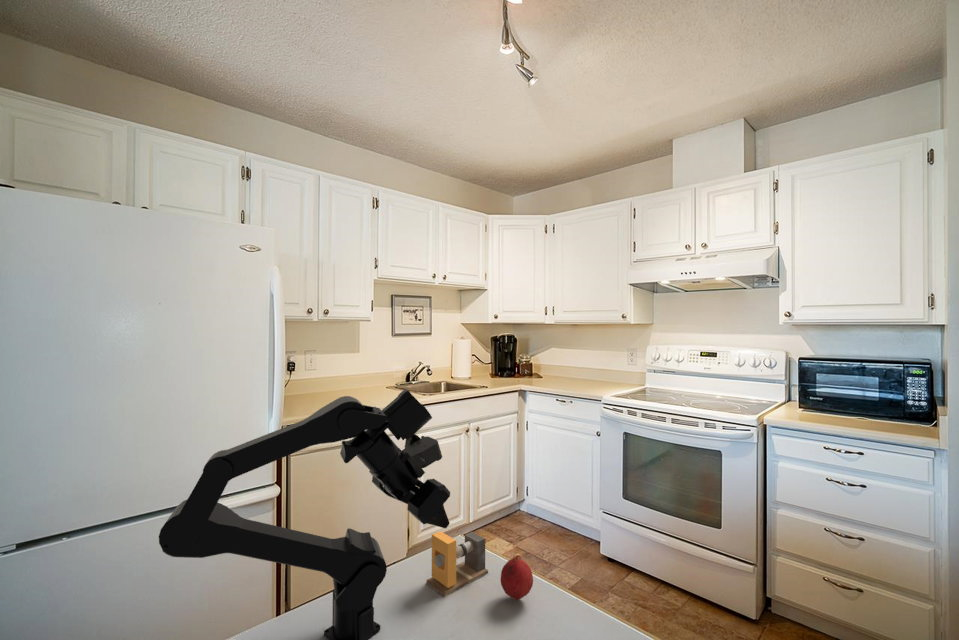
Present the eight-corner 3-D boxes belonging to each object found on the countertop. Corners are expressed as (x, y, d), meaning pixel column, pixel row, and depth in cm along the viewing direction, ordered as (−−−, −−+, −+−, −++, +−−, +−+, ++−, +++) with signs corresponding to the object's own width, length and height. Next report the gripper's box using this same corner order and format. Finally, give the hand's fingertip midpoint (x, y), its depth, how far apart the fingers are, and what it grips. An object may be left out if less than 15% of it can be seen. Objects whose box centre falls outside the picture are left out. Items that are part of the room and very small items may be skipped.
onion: (517, 614, 72) (517, 567, 72) (493, 598, 76) (493, 553, 77) (539, 600, 76) (539, 555, 76) (516, 585, 80) (516, 543, 80)
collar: (447, 588, 78) (447, 544, 78) (431, 576, 82) (431, 534, 82) (456, 583, 79) (456, 540, 79) (439, 572, 83) (439, 531, 83)
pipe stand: (444, 596, 77) (444, 560, 77) (426, 583, 81) (426, 548, 81) (488, 573, 84) (488, 540, 85) (469, 561, 88) (469, 530, 89)
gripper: (446, 435, 67) (493, 497, 73) (394, 413, 82) (437, 466, 88) (395, 491, 62) (450, 553, 68) (349, 457, 77) (398, 510, 83)
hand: (433, 515), depth 77 cm, fingers open, 9 cm apart
